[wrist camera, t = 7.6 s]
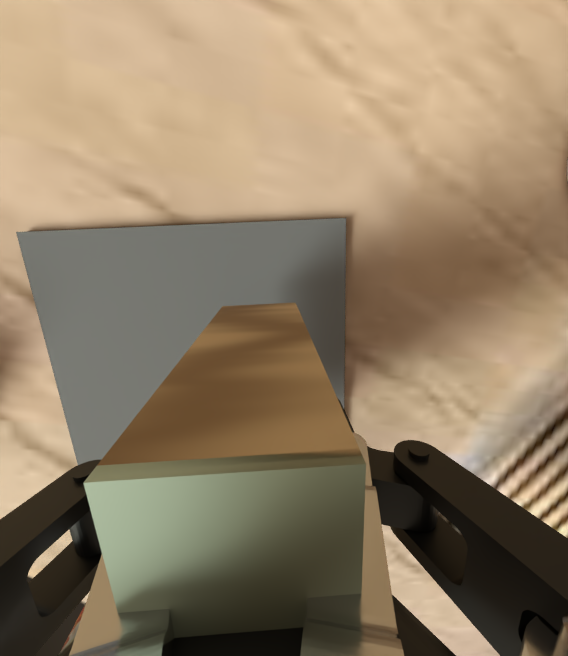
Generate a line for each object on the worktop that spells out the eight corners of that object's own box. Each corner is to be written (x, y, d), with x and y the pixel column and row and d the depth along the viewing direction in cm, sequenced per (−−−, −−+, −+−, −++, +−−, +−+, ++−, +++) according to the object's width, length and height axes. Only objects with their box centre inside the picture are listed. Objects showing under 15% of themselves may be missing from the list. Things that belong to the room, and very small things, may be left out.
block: (295, 302, 15) (365, 464, 4) (300, 445, 17) (354, 807, 6) (222, 306, 14) (83, 482, 4) (236, 449, 17) (174, 826, 6)
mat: (343, 219, 17) (346, 218, 17) (341, 454, 22) (343, 460, 21) (25, 232, 17) (16, 232, 16) (86, 471, 21) (81, 477, 21)
